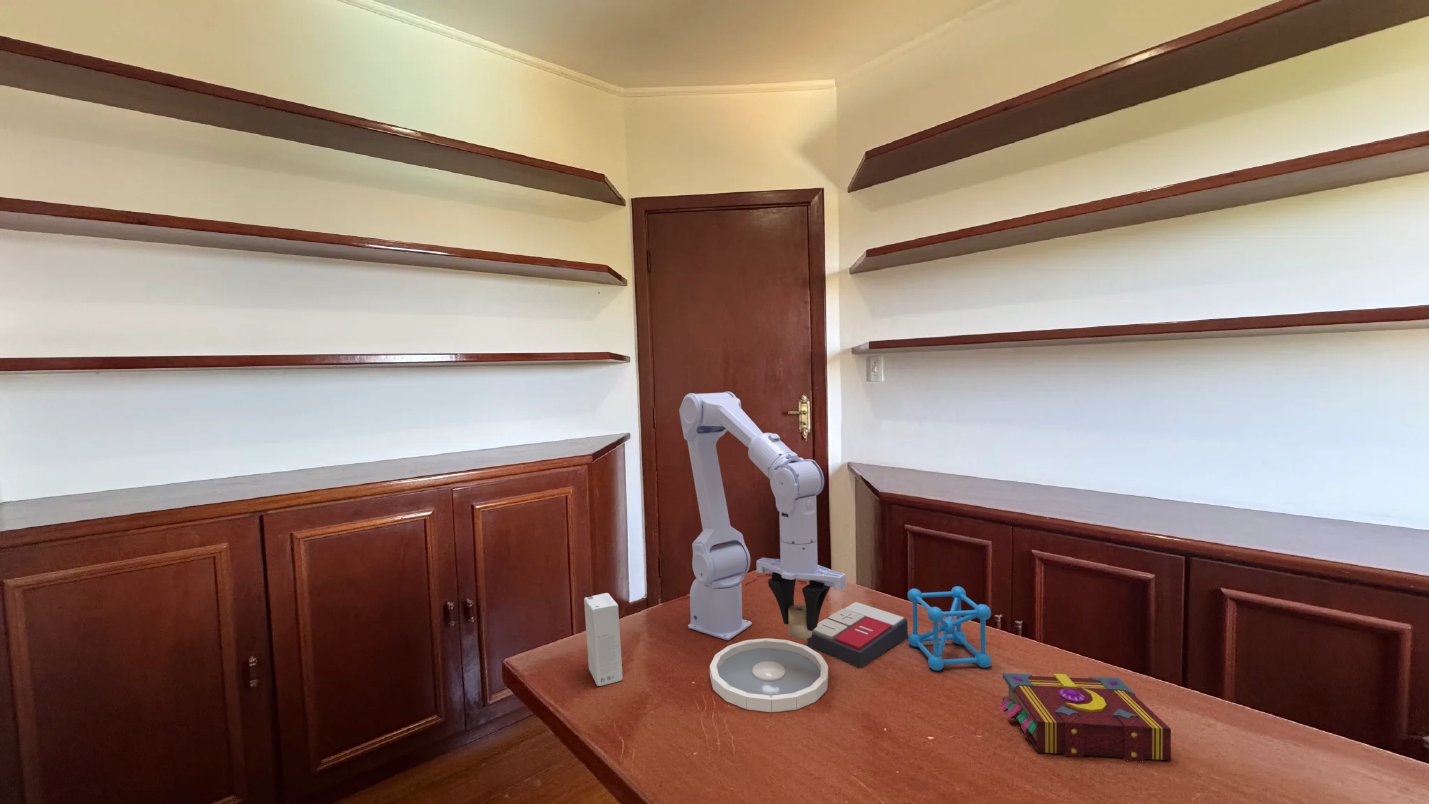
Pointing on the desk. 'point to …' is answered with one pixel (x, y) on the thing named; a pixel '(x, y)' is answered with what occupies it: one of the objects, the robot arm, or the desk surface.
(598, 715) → the desk surface
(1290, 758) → the desk surface
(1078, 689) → the decorative book
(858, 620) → the calculator
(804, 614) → the wooden bead
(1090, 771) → the desk surface
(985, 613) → the molecular structure
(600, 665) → the skincare box
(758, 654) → the ring tray
